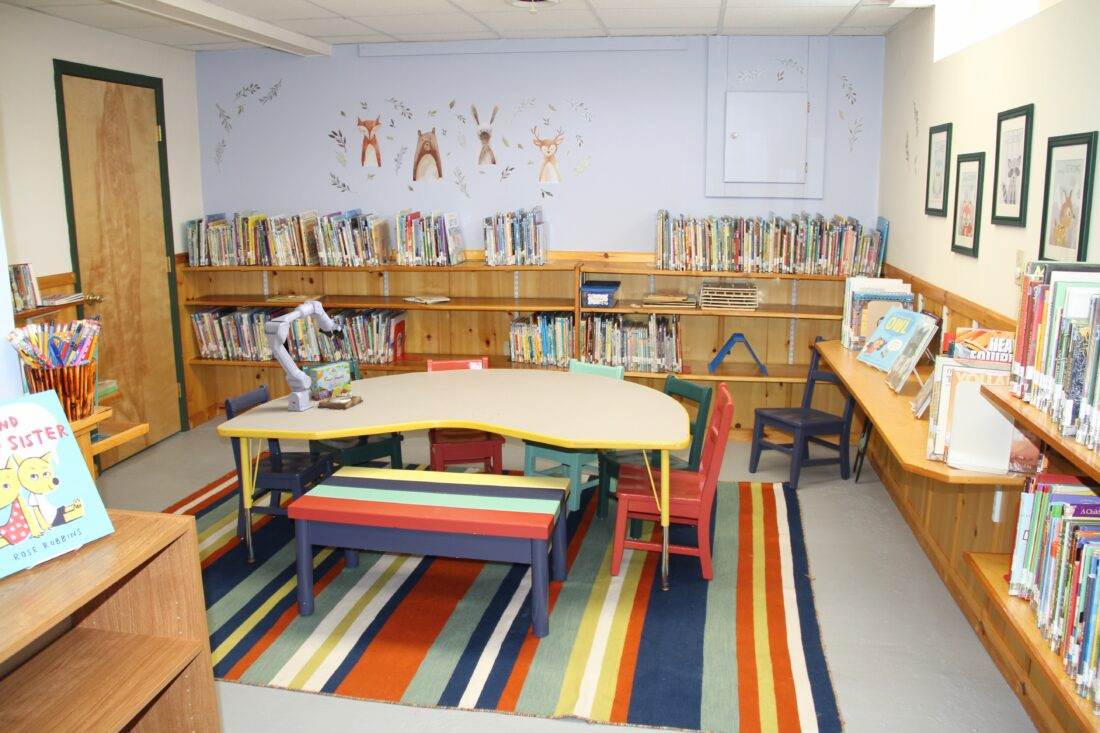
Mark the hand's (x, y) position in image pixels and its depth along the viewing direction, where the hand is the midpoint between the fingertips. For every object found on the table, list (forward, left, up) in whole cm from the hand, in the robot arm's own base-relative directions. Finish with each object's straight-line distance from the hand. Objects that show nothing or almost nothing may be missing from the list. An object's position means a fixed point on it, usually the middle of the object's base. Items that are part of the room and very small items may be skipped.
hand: (337, 337), depth 422 cm
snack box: (-3, +4, -29) cm, 29 cm away
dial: (-19, -11, -27) cm, 35 cm away
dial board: (-19, -11, -28) cm, 36 cm away
